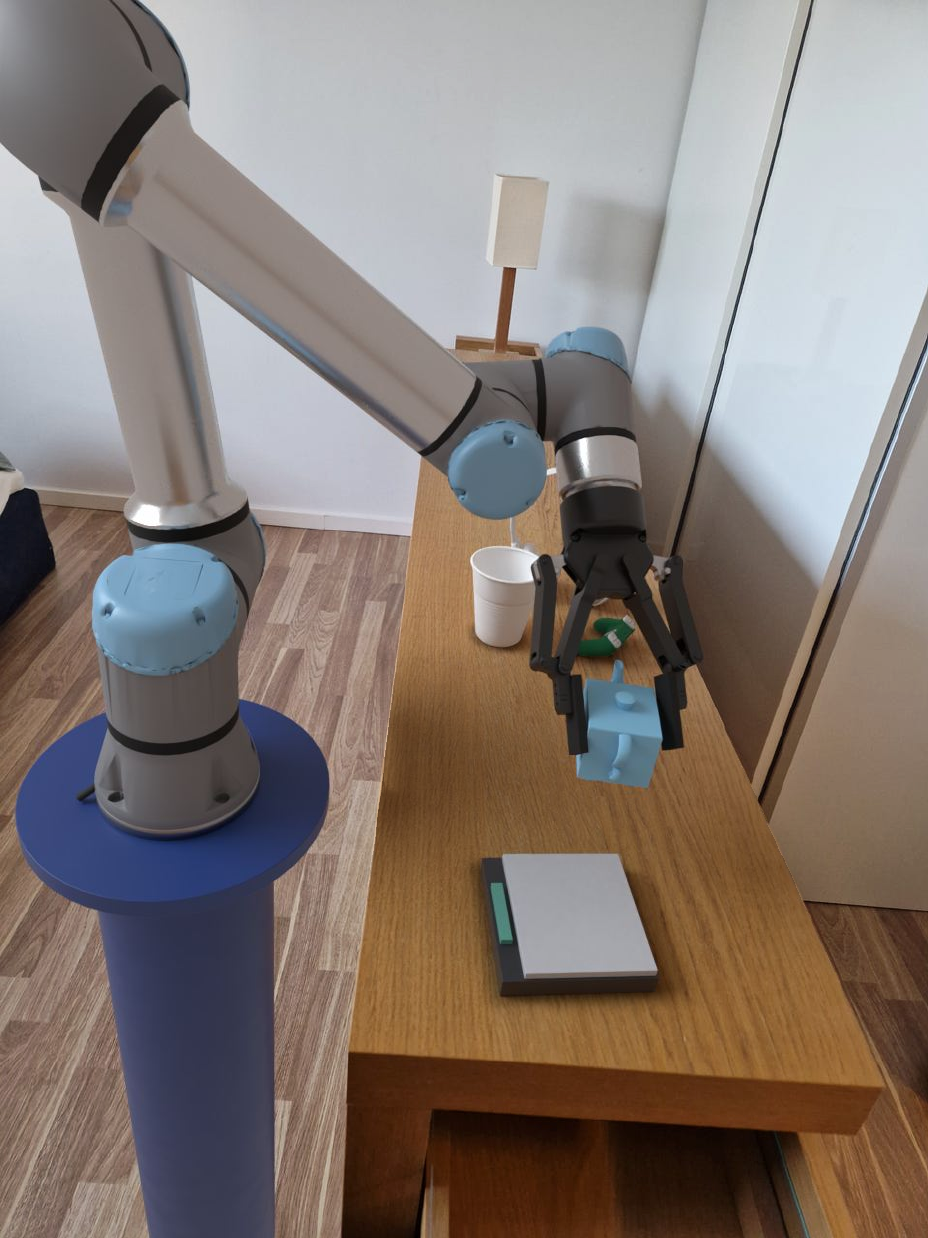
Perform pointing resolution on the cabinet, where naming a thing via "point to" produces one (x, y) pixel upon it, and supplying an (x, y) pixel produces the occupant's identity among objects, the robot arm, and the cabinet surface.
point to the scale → (565, 925)
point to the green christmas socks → (607, 637)
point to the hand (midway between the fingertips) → (626, 751)
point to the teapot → (620, 731)
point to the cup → (502, 593)
